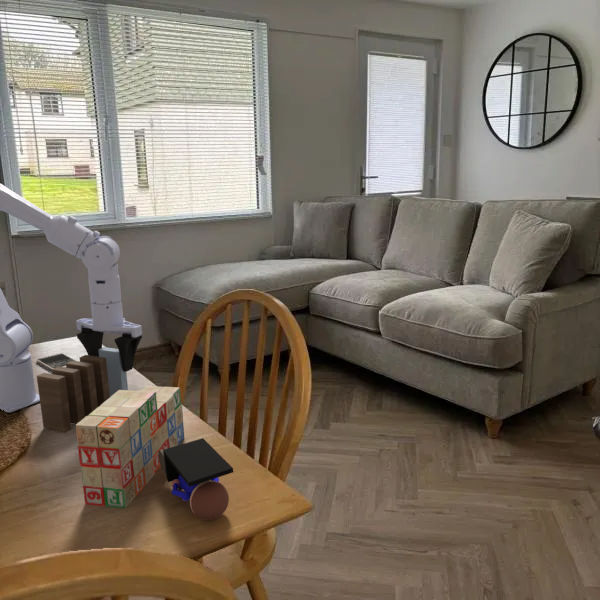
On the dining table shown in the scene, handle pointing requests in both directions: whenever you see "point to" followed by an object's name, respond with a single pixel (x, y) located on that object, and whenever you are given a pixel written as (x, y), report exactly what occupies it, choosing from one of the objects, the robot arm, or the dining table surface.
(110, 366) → the domino
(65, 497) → the dining table surface
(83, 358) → the domino
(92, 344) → the robot arm
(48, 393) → the domino
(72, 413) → the domino
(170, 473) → the figurine character
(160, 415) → the stack of blocks
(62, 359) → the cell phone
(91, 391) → the domino
